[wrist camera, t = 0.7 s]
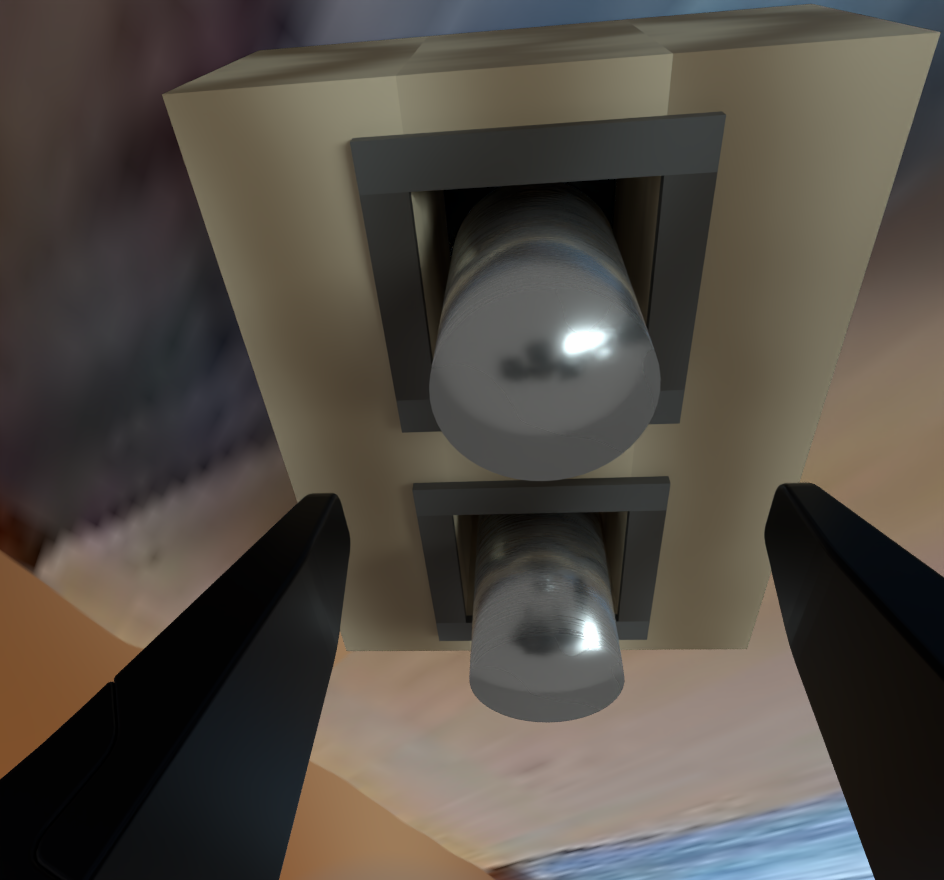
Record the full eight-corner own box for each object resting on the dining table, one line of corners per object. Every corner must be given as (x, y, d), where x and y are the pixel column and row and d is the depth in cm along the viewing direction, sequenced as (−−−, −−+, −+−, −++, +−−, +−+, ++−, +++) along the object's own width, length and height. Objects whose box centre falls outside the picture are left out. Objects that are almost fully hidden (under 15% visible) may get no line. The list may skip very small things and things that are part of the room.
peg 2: (602, 475, 20) (629, 635, 15) (596, 562, 22) (619, 722, 18) (473, 479, 20) (462, 636, 16) (481, 564, 23) (475, 722, 18)
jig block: (811, 3, 16) (949, 33, 11) (704, 523, 27) (749, 656, 22) (258, 50, 17) (155, 97, 12) (374, 530, 28) (345, 658, 23)
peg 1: (621, 172, 14) (673, 281, 10) (611, 331, 17) (649, 478, 12) (444, 184, 15) (415, 295, 10) (459, 338, 17) (441, 483, 13)
